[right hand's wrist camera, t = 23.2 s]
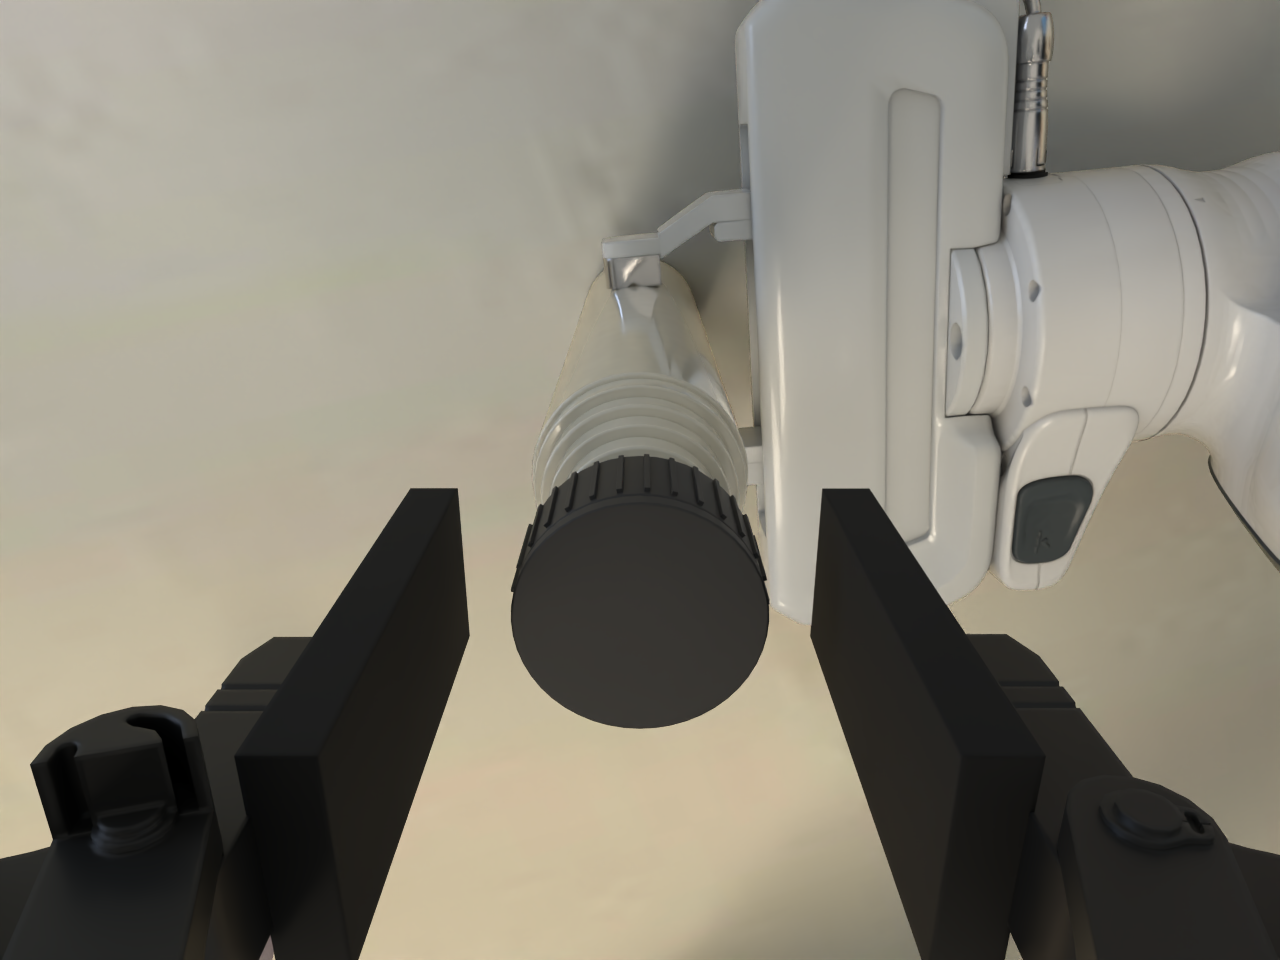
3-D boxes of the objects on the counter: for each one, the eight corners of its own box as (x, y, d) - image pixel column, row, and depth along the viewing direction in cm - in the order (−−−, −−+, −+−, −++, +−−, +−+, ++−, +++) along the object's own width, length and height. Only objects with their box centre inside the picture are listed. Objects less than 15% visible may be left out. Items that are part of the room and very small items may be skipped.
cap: (501, 632, 15) (482, 701, 13) (553, 424, 14) (540, 468, 12) (717, 682, 15) (728, 756, 14) (787, 484, 14) (809, 536, 12)
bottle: (692, 368, 36) (775, 725, 14) (584, 366, 36) (497, 718, 14) (698, 258, 35) (800, 464, 13) (584, 254, 35) (487, 456, 13)
